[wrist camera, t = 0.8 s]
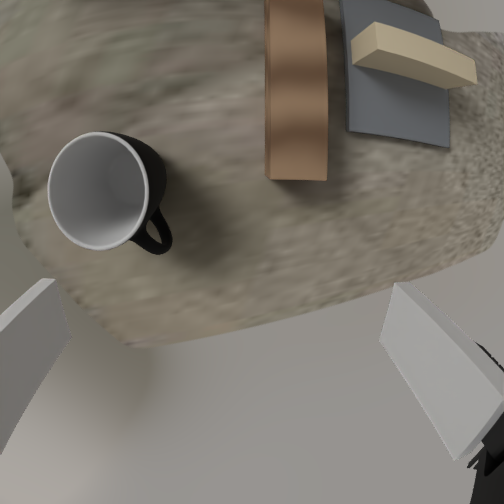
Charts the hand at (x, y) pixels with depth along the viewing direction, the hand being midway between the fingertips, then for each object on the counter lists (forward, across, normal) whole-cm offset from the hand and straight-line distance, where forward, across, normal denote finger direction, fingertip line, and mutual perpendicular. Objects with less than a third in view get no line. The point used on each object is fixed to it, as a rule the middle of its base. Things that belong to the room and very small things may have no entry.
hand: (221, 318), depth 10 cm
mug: (+21, -9, +2) cm, 23 cm away
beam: (+21, +6, +13) cm, 26 cm away
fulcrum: (+21, +19, +18) cm, 33 cm away
